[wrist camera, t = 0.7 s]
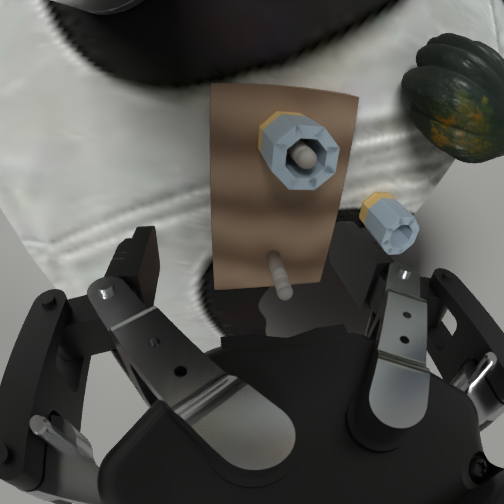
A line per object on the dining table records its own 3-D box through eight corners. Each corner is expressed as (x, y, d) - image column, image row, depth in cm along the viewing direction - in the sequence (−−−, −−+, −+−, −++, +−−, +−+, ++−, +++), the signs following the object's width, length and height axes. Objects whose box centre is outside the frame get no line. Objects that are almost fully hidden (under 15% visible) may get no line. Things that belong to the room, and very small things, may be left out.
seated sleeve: (260, 110, 23) (275, 123, 18) (315, 114, 23) (342, 129, 19) (256, 163, 26) (269, 189, 21) (308, 164, 27) (332, 190, 22)
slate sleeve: (365, 191, 32) (390, 217, 27) (397, 193, 33) (423, 217, 28) (355, 227, 35) (376, 255, 30) (386, 226, 36) (409, 253, 31)
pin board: (210, 83, 22) (212, 90, 15) (349, 94, 24) (399, 111, 17) (213, 279, 37) (218, 333, 30) (315, 272, 39) (336, 320, 32)
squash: (390, 20, 15) (513, 160, 12) (474, 8, 12) (565, 114, 10) (373, 103, 29) (445, 205, 26) (446, 74, 26) (509, 159, 23)
